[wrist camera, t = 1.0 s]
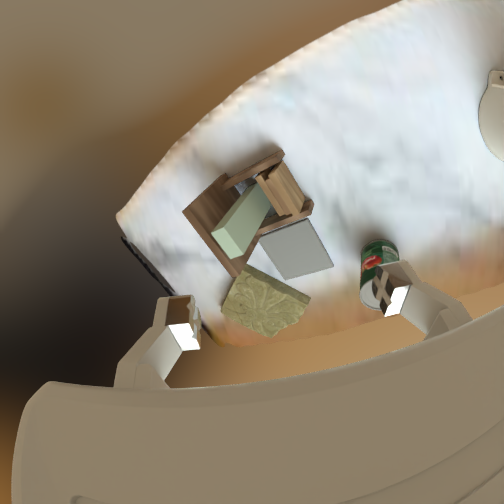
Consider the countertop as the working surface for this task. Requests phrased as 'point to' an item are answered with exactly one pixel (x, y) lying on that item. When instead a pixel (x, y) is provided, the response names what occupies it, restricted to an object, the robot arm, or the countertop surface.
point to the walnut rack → (219, 203)
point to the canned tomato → (370, 258)
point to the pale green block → (242, 221)
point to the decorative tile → (263, 302)
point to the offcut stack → (281, 189)
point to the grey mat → (296, 250)
